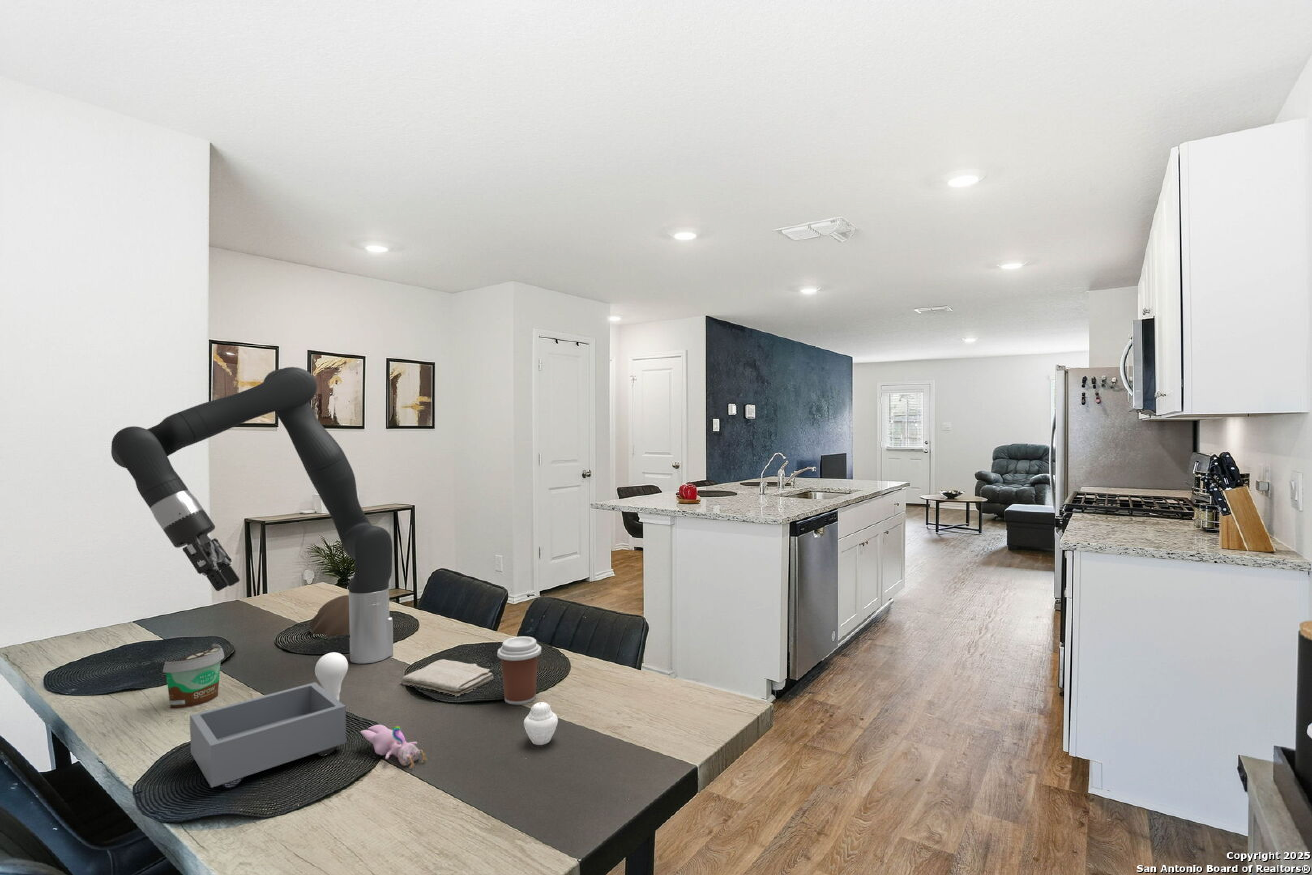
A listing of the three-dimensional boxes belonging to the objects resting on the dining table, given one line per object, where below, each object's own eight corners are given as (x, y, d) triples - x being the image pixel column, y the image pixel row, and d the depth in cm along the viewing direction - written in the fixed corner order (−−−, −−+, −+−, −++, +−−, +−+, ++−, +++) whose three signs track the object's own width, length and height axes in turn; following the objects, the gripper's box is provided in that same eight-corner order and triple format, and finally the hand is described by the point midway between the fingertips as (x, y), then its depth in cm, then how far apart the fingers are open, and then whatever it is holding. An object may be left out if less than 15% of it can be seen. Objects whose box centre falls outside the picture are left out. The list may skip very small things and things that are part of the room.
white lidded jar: (542, 752, 113) (541, 712, 113) (516, 743, 116) (515, 705, 116) (565, 737, 118) (564, 699, 118) (540, 730, 122) (539, 692, 122)
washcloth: (460, 699, 137) (460, 685, 137) (398, 687, 145) (398, 673, 145) (497, 680, 148) (496, 666, 148) (437, 669, 156) (436, 656, 156)
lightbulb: (355, 702, 136) (354, 649, 136) (332, 714, 130) (331, 659, 130) (332, 698, 138) (331, 647, 138) (308, 710, 132) (307, 656, 132)
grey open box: (316, 723, 126) (315, 682, 126) (346, 751, 115) (345, 705, 115) (190, 761, 112) (189, 714, 112) (211, 797, 100) (210, 745, 100)
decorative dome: (292, 639, 179) (291, 603, 179) (338, 618, 199) (337, 586, 199) (356, 642, 176) (355, 605, 176) (396, 620, 196) (396, 587, 196)
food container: (188, 713, 131) (187, 664, 131) (163, 711, 133) (162, 662, 132) (239, 689, 143) (238, 644, 143) (215, 687, 145) (214, 643, 145)
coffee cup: (550, 693, 139) (549, 637, 139) (525, 710, 130) (524, 650, 130) (516, 687, 143) (515, 632, 142) (488, 702, 134) (487, 645, 134)
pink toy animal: (433, 765, 112) (379, 731, 120) (436, 732, 111) (382, 700, 119) (402, 782, 107) (347, 745, 114) (405, 748, 106) (350, 713, 114)
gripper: (190, 508, 124) (239, 579, 126) (212, 508, 137) (256, 571, 139) (149, 530, 122) (199, 602, 123) (175, 527, 135) (220, 592, 136)
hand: (229, 586), depth 131 cm, fingers open, 8 cm apart
